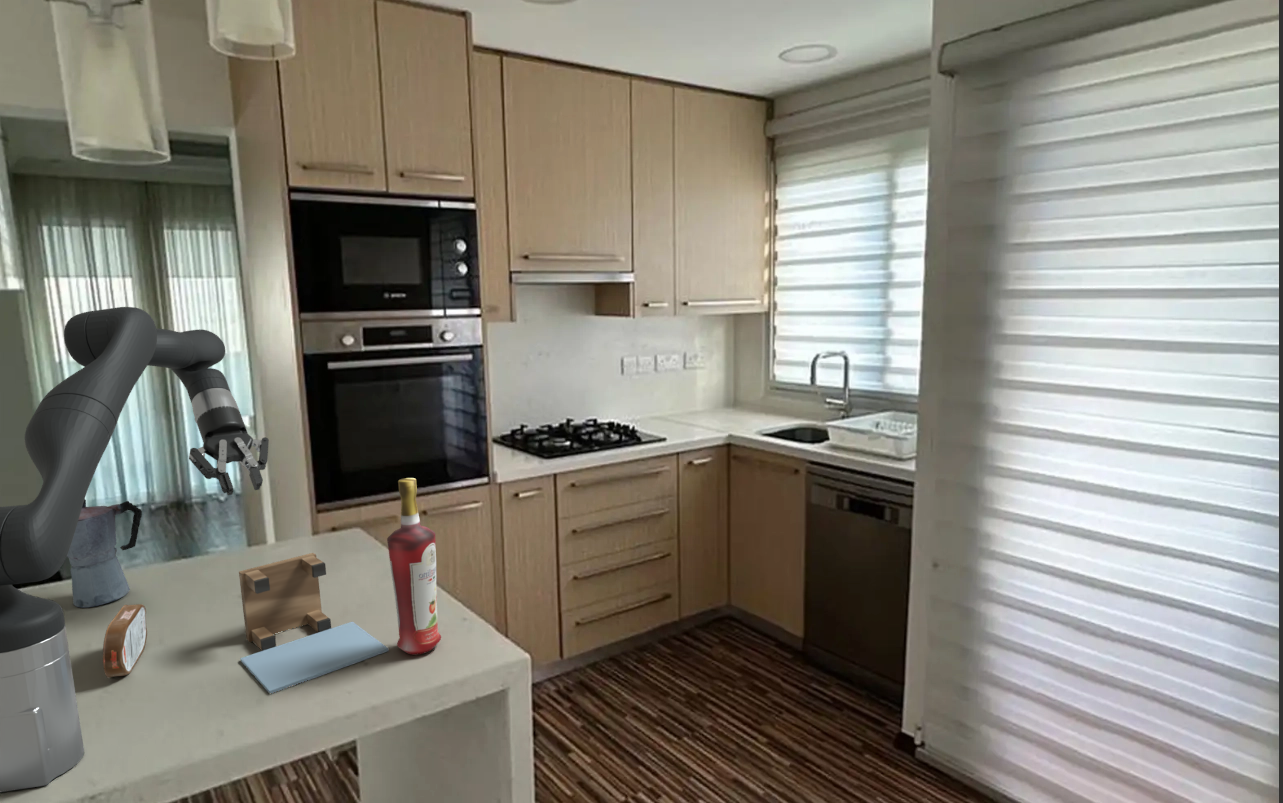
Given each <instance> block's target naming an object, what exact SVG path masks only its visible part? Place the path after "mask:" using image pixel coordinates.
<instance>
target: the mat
mask: <svg viewBox="0 0 1283 803" xmlns="http://www.w3.org/2000/svg"><path fill="white" fill-rule="evenodd" d="M386 652H389V647H388V646H386V645H384V643H382V642H381V641H379V640H378V639H377V638H376V637H374V636H372V635H371V634H370V633H368V631H366V630H364V629H363V628H362V627H360V626H359V625H358V624H357V623H355V622H354V621H350V622H346V623H343V624H340V625H338V626H334V627H331V629H328V630H325V631H322V632H319V633H318V632H316V633H312V634H310V635H307V636H305V637H301V638H298V639H295V640H293V641H288V642H286V643H283V644H280V645H276V647H273V648H270V649H267V650H264V651H261V650H260V651H258V652H254V653H253V654H249V655H247V656H243V657H240V663H242V665H244V667H245V666H246V667H245V668H246V669H247V668H248V669H247V670H248V671H249V673H251V675H252V676H253V675H254V676H255V677H254V676H253V677H254V678H255V679H256V680H257V682H259V684H260V685H261V684H262V685H263V686H264V687H263V686H262V685H261V686H262V687H263V688H264V689H265V691H266V692H267V693H268V694H269V693H272V694H274V693H273V692H275V693H277V692H276V691H278V692H280V691H279V690H281V691H283V690H285V689H284V688H286V689H288V688H287V687H289V686H291V687H293V686H292V685H294V686H297V685H299V684H298V683H300V684H302V683H304V681H305V682H308V681H310V680H313V679H316V678H319V677H321V676H324V675H326V674H329V673H332V672H335V671H337V670H340V669H344V668H346V667H348V666H351V665H354V664H357V663H359V662H362V661H365V660H368V659H370V658H372V657H373V658H374V657H376V656H378V655H381V654H384V653H386ZM307 680H308V681H307ZM301 682H302V683H301ZM296 684H297V685H296ZM289 688H290V687H289ZM282 689H283V690H282Z"/></svg>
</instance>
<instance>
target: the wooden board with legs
mask: <svg viewBox="0 0 1283 803" xmlns="http://www.w3.org/2000/svg"><path fill="white" fill-rule="evenodd" d="M238 574H239V575H238V577H239V584H240V595H241V603H242V611H243V612H242V613H243V619H244V620H243V622H244V628H245V629H244V630H245V637H246V638H245V639H247V640H248V641H249V642H250V643H253V644H254V645H255V644H256V645H257V646H258V647H259V648H260V649H261V650H262V651H264V650H267V649H270V648H273V647H276V646H277V642H276V636H275V635H276V634H275V633H278V632H281V631H285V630H288V629H291V630H293V629H292V628H294V629H297V628H300V627H299V626H301V627H303V626H302V625H304V626H306V625H308V626H309V627H311V628H312V629H313V630H314V631H316V633H319V632H322V631H325V630H328V629H331V628H332V622H331V621H332V620H331V618H330V617H329V616H328V615H326V614H325V613H324V612H323V611H322V603H321V602H322V601H321V600H322V599H321V591H320V590H321V588H320V580H319V579H320V577H322V576H327V568H326V563H325V562H324V561H323V560H321V559H319V558H317V554H316V553H314V552H311V553H306V554H303V555H302V554H301V555H300V556H299V555H298V556H295V557H290V558H287V559H283V560H280V561H279V560H278V561H276V562H275V561H274V562H270V563H268V564H267V563H266V564H262V565H259V566H255V567H251V568H248V569H243V570H240V571H238ZM296 627H297V628H296ZM288 631H289V630H288ZM285 632H286V631H285ZM273 634H275V635H273ZM278 634H279V633H278ZM247 640H246V641H247ZM248 641H247V642H248ZM252 641H253V642H252ZM249 642H248V643H249ZM256 645H255V646H256ZM257 646H256V647H257ZM258 647H257V648H258ZM259 648H258V649H259ZM260 649H259V650H260ZM261 650H260V651H261Z"/></svg>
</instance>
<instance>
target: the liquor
mask: <svg viewBox="0 0 1283 803" xmlns="http://www.w3.org/2000/svg"><path fill="white" fill-rule="evenodd" d="M397 483H398V492H399V496H400V502H401V504H400V528H398V529H396V530H394V531H393V532H392V533H391V534H389V535H388V537H387V538H386V540H387V549H388V556H389V564H390V566H389V567H390V572H391V573H390V574H391V578H392V586H393V592H394V600H395V609H396V616H397V617H396V618H397V624H398V635H399V638H398V640H397V642H396V645H397V647H398V648H399V649H400V650H402V651H403V652H405V653H407V654H408V655H410V656H411V655H415V656H417V655H423V654H426V653H429V652H430V651H432V650H433V649H434V648H435V647H436V646H437V645H438V644H439V643H440V641H442V635H441V634H440V632H439V628H438V604H437V603H438V602H437V597H438V596H437V553H436V552H437V550H436V548H437V546H436V544H437V543H436V532H435V531H434V530H433V529H431V528H429V527H427V526H424V525H421V520H420V516H419V515H420V514H419V509H418V504H417V492H418V491H417V490H418V488H417V486H418V485H417V479H416V478H414V477H406V478H401V479H399V480H398V481H397Z"/></svg>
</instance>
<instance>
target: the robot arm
mask: <svg viewBox="0 0 1283 803" xmlns="http://www.w3.org/2000/svg"><path fill="white" fill-rule="evenodd" d="M63 339H64V345H65V347H66V350H67V353H68V355H69V356H70V357H71V358H72V359H73V361H75V362H76V363H77V364H78V365H80V366H82V368H80V369H79V370H78V371H76V372H74V373H73V374H71V375H69V376H68V377H67V378H65V379H64V380H62V381H60V382H59V383H58V384H57V385H55V386H54V387H53V388H51V390H50V391H48V392H47V393H46V394H45V396H44V397H43V398H42V399H41V401H40V402H39V404H38V405H37V408H36V409H35V411H34V412H33V414H32V417H31V419H30V420H29V422H28V423H27V426H26V430H25V432H24V444H25V448H26V451H27V452H28V454H29V457H30V459H31V460H32V463H33V464H34V466H35V468H36V469H37V471H38V473H39V474H40V477H41V478H42V485H41V488H40V490H39V492H38V494H37V496H36V497H35V499H34V500H32V501H31V502H29V503H28V504H21V505H20V504H19V505H8V506H7V505H6V506H0V793H5V792H10V791H17V790H23V789H30V788H35V787H44V786H47V785H49V784H50V783H51V782H52V781H53V779H56V778H58V777H59V776H61V775H63V774H64V773H66V772H68V771H69V770H70V769H72V768H74V767H75V766H76V765H77V764H78V763H79V762H80V761H81V760H82V759H83V757H84V754H85V747H84V740H83V734H82V729H81V728H82V727H81V722H80V720H81V719H80V714H79V709H78V708H79V707H78V701H77V695H76V688H75V682H74V675H73V674H74V673H73V668H72V662H71V655H70V654H71V653H70V648H69V640H68V633H67V628H66V621H65V615H64V614H65V613H64V610H63V607H62V606H61V605H60V603H58V602H56V601H54V600H52V599H48V598H43V597H39V596H34V595H32V594H29V593H26V592H24V591H21V590H19V589H18V588H16V587H15V586H13V585H19V584H28V583H36V582H40V581H43V580H44V581H45V580H47V579H49V578H51V577H53V576H55V574H57V572H58V571H59V570H60V569H61V567H62V566H63V564H64V563H65V561H66V559H67V558H68V557H67V554H68V552H69V549H70V546H71V543H72V540H73V537H74V534H75V530H76V527H77V523H78V520H79V517H80V513H81V510H82V506H83V503H84V499H85V500H86V496H87V493H88V490H89V488H90V485H91V482H92V480H93V477H94V475H95V473H96V471H97V467H98V466H99V464H100V461H101V459H102V458H103V455H104V453H105V451H106V449H107V447H108V445H109V444H110V440H111V438H112V437H113V434H114V431H115V429H116V427H117V424H118V421H119V418H120V415H121V414H122V411H123V409H124V407H125V404H126V402H127V400H128V398H129V396H130V394H131V393H132V390H133V389H134V387H135V385H136V384H137V382H138V381H139V379H140V377H141V376H142V374H143V373H144V372H145V370H146V368H147V367H148V366H149V367H158V368H167V369H170V370H171V371H172V372H173V373H174V374H175V375H176V376H177V378H178V379H179V381H180V382H181V383H182V385H183V386H184V388H185V389H186V392H187V395H188V396H189V400H190V403H191V405H192V413H193V416H194V421H195V423H196V425H197V427H198V431H199V434H200V437H201V439H202V442H203V444H202V446H201V447H198V448H196V447H191V448H190V450H189V455H188V459H189V461H190V462H191V463H192V464H193V465H194V466H195V468H196V469H197V470H198V471H199V472H200V473H201V474H202V476H203V477H204V478H205V479H206V480H211V479H217V480H218V482H219V486H220V488H221V492H223V494H226V495H227V496H231V495H233V494H234V493H233V492H234V486H233V483H232V480H231V476H230V474H229V472H228V471H227V464H230V463H233V462H234V463H235V462H236V463H237V462H239V463H240V464H241V466H242V467H244V468H245V469H246V470H247V471H248V473H249V479H250V482H251V483H252V487H253V489H254V491H259V490H260V489H261V487H262V486H263V482H264V479H263V476H262V474H261V472H260V471H264V470H266V467H267V463H268V460H269V459H268V457H269V456H268V454H269V437H262V438H261V439H254V438H253V437H252V436H251V435H250V434H249V433H248V430H247V427H246V424H245V421H244V419H243V417H242V414H241V411H240V408H239V406H238V403H237V401H236V399H235V397H234V396H233V394H232V392H231V389H230V387H229V384H228V380H227V378H226V376H225V375H224V373H223V372H222V371H220V370H219V369H216V368H212V367H213V366H214V365H217V364H219V363H220V362H221V361H222V360H223V359H224V358H225V355H226V345H225V343H224V342H223V340H222V339H221V337H219V336H218V335H217V334H216V333H214V332H212V331H209V330H207V329H192V330H185V331H177V330H175V331H174V330H171V329H164V328H157V327H156V323H155V321H154V319H153V318H152V316H151V315H150V314H149V313H148V312H147V311H146V310H144V309H142V308H140V307H139V308H138V307H134V306H119V307H112V308H105V309H98V310H89V311H84V312H81V313H78V314H75V315H73V316H72V317H70V319H68V321H67V322H66V324H65V326H64V330H63ZM252 446H253V447H254V448H255V451H256V452H258V453H259V454H258V460H256V458H255V457H254V456H253V453H252V452H251V448H252ZM206 455H208V456H209V457H211V458H212V459H214V460H215V461H216V467H214V466H213V465H212V464H211V463H210V462H209V461H208V460H207V458H206ZM226 471H227V472H226Z"/></svg>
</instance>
